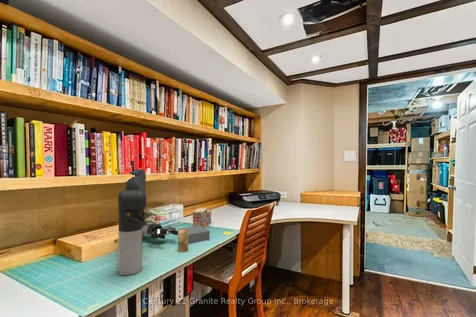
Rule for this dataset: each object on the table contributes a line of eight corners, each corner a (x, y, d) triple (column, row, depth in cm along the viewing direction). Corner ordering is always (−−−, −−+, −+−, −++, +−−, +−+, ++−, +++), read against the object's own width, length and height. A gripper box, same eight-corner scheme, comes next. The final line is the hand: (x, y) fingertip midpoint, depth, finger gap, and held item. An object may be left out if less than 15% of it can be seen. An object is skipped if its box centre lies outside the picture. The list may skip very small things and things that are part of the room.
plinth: (186, 244, 134) (186, 235, 134) (177, 237, 146) (177, 229, 146) (209, 239, 142) (209, 230, 142) (199, 233, 154) (199, 225, 154)
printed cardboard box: (202, 222, 182) (203, 205, 182) (211, 222, 181) (211, 206, 181) (192, 230, 161) (192, 211, 161) (201, 231, 160) (201, 212, 160)
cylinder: (180, 252, 122) (180, 232, 122) (176, 249, 126) (176, 230, 126) (189, 250, 125) (189, 230, 125) (185, 247, 129) (185, 228, 129)
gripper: (141, 226, 134) (160, 231, 125) (162, 220, 146) (181, 225, 137) (141, 239, 134) (159, 245, 125) (162, 233, 146) (181, 238, 137)
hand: (171, 235), depth 131 cm, fingers open, 8 cm apart
